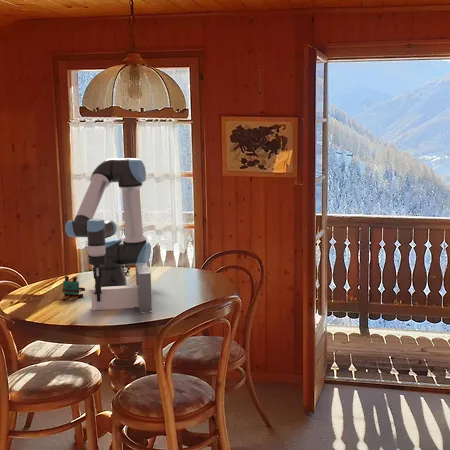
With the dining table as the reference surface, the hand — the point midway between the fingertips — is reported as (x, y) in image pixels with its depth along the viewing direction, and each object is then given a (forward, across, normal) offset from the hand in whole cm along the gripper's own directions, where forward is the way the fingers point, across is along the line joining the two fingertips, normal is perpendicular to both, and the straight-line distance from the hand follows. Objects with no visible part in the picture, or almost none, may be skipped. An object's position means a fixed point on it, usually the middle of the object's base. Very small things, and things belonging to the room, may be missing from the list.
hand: (99, 306), depth 274 cm
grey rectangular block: (+1, 0, +8) cm, 9 cm away
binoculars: (+1, -24, -12) cm, 26 cm away
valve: (+1, -72, +11) cm, 73 cm away
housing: (+1, 0, +20) cm, 20 cm away
